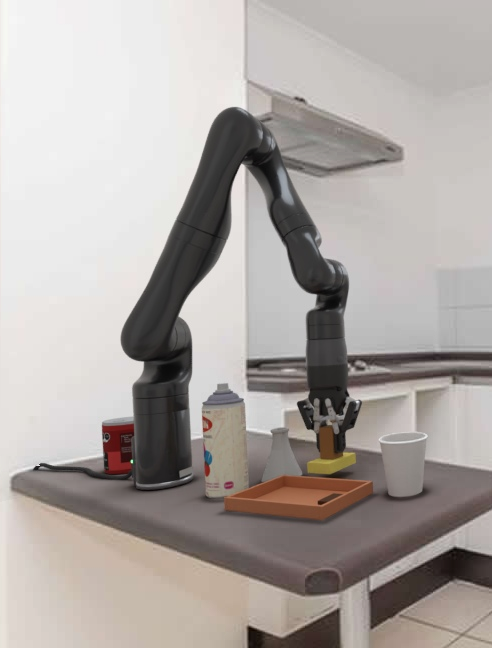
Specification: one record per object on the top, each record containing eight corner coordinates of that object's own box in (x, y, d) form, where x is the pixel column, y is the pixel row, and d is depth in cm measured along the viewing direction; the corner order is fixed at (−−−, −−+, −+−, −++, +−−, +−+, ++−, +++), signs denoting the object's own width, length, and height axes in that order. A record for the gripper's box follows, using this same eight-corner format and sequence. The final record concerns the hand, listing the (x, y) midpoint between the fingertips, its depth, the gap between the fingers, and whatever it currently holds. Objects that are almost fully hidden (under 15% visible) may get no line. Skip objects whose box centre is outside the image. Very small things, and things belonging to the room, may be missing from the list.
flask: (287, 486, 103) (285, 432, 103) (253, 485, 105) (250, 432, 104) (309, 474, 110) (307, 425, 110) (277, 474, 112) (275, 425, 111)
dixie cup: (425, 484, 101) (423, 429, 101) (434, 497, 93) (431, 438, 93) (378, 490, 98) (376, 434, 98) (383, 504, 90) (380, 444, 90)
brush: (307, 473, 103) (305, 430, 103) (334, 461, 111) (332, 422, 111) (329, 474, 102) (327, 431, 101) (356, 462, 109) (354, 422, 109)
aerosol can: (205, 494, 100) (199, 383, 100) (246, 486, 104) (241, 380, 103) (207, 504, 94) (201, 387, 94) (251, 495, 98) (246, 383, 97)
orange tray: (224, 512, 89) (223, 497, 89) (284, 488, 102) (283, 474, 102) (322, 523, 83) (322, 506, 83) (373, 495, 96) (372, 481, 96)
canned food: (115, 466, 123) (113, 417, 123) (155, 463, 124) (153, 415, 124) (95, 476, 115) (93, 423, 115) (138, 472, 117) (135, 421, 116)
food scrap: (317, 507, 89) (317, 500, 89) (333, 499, 93) (333, 493, 93) (338, 508, 88) (338, 502, 88) (353, 500, 91) (353, 494, 91)
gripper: (369, 360, 107) (374, 448, 107) (310, 361, 112) (314, 446, 112) (345, 363, 100) (350, 458, 100) (283, 364, 104) (287, 455, 105)
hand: (331, 451), depth 106 cm, fingers closed on brush, 3 cm apart
